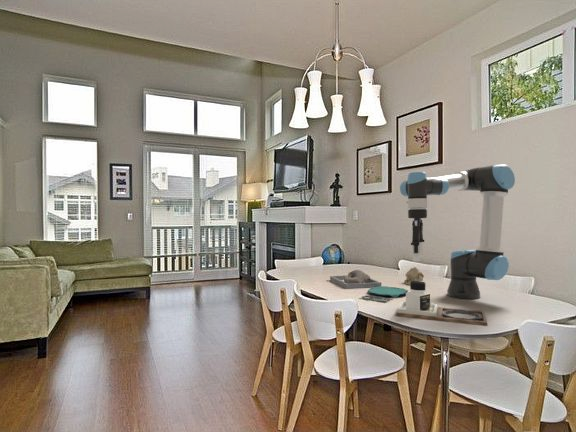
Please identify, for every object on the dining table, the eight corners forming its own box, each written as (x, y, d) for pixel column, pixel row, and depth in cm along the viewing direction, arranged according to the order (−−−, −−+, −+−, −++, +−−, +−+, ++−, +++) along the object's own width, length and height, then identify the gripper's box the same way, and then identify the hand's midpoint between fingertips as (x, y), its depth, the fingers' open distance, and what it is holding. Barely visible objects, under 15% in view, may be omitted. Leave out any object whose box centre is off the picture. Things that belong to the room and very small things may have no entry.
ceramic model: (400, 282, 228) (400, 266, 228) (416, 281, 230) (416, 265, 230) (413, 287, 214) (413, 269, 214) (431, 285, 217) (431, 268, 217)
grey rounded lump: (363, 299, 219) (364, 281, 231) (372, 290, 214) (372, 273, 226) (339, 285, 217) (341, 269, 230) (347, 276, 212) (349, 259, 225)
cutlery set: (413, 293, 198) (413, 288, 198) (389, 305, 174) (389, 300, 174) (378, 288, 210) (378, 284, 210) (351, 299, 187) (351, 295, 187)
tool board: (484, 313, 157) (484, 307, 157) (487, 325, 140) (487, 318, 140) (402, 305, 170) (402, 300, 170) (396, 315, 154) (396, 309, 154)
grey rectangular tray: (361, 278, 241) (361, 274, 241) (381, 286, 214) (381, 282, 214) (330, 280, 236) (330, 276, 236) (346, 288, 209) (346, 284, 209)
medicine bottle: (420, 312, 154) (420, 283, 154) (405, 309, 159) (405, 281, 159) (430, 310, 158) (430, 281, 158) (415, 306, 164) (415, 279, 164)
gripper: (411, 208, 171) (412, 255, 172) (404, 209, 149) (405, 262, 149) (429, 208, 168) (429, 255, 169) (424, 208, 146) (425, 263, 146)
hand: (418, 259), depth 159 cm, fingers open, 13 cm apart
